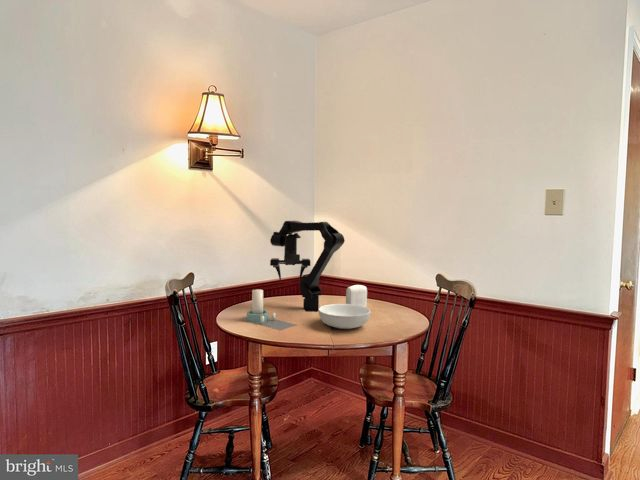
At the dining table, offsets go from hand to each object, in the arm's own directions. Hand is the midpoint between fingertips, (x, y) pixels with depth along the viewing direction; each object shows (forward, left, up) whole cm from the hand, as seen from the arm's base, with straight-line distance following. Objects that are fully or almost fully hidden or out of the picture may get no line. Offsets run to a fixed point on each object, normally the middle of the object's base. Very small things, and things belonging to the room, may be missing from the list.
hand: (290, 280), depth 209 cm
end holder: (+13, +27, -11) cm, 32 cm away
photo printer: (-30, +12, -12) cm, 35 cm away
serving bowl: (-22, +34, -12) cm, 42 cm away
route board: (+9, +31, -12) cm, 34 cm away
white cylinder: (+13, +27, -11) cm, 32 cm away
